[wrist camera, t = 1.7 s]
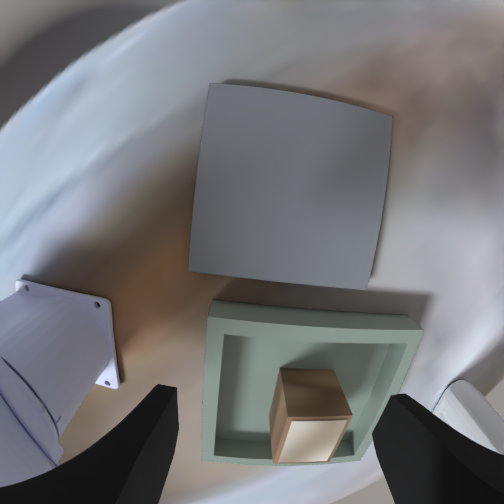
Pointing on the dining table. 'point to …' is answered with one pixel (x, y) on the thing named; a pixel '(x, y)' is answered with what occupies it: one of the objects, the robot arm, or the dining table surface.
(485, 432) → the white rounded block
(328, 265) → the slate mat
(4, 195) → the dining table surface
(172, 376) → the dining table surface
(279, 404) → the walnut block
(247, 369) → the bin
